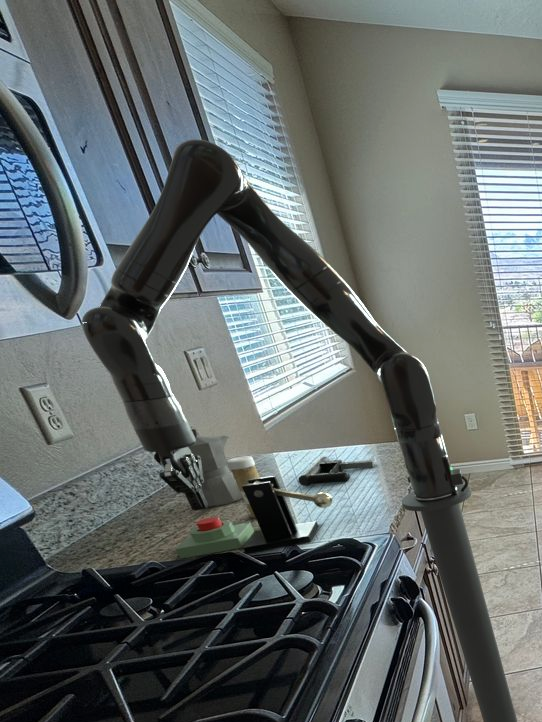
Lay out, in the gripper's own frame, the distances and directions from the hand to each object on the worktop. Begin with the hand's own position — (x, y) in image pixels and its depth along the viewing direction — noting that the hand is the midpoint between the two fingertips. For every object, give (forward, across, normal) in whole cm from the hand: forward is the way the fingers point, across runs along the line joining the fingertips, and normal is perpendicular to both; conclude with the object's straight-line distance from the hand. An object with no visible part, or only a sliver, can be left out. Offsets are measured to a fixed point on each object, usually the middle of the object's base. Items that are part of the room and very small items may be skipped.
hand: (201, 508), depth 112 cm
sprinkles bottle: (+8, +16, -4) cm, 18 cm away
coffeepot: (+8, +33, +9) cm, 35 cm away
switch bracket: (+8, -4, -12) cm, 15 cm away
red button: (+4, 0, 0) cm, 4 cm away
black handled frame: (+8, +42, -16) cm, 46 cm away
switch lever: (+1, -4, -16) cm, 17 cm away
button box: (+8, 0, 0) cm, 8 cm away
